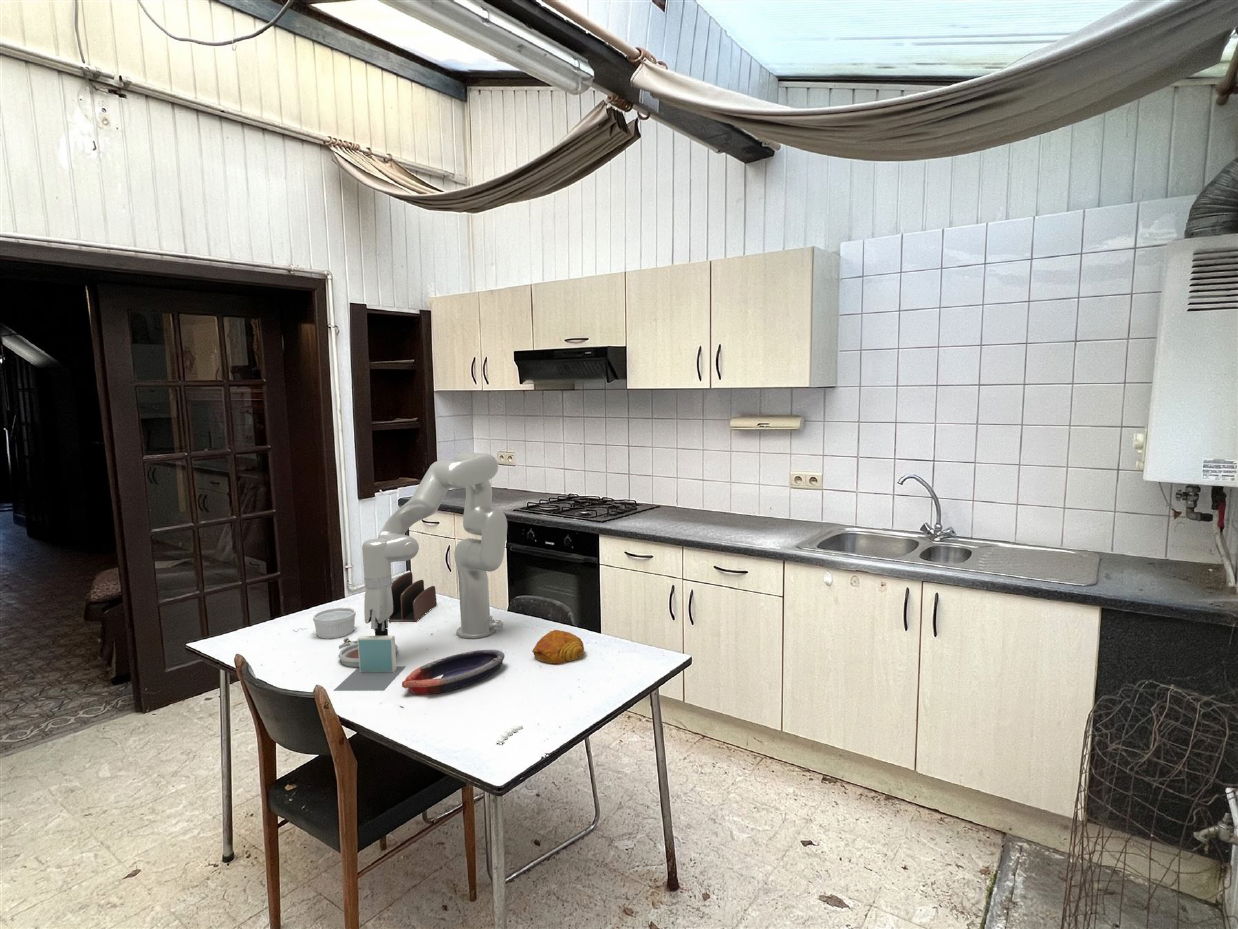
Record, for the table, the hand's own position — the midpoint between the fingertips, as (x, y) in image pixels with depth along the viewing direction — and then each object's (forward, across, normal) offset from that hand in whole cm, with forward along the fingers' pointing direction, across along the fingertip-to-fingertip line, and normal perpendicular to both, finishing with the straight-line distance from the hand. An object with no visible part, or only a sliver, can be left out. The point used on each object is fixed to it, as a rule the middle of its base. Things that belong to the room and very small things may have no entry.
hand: (382, 642), depth 197 cm
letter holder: (+8, -48, -8) cm, 49 cm away
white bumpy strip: (+8, +40, +46) cm, 62 cm away
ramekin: (+8, -28, -28) cm, 40 cm away
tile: (+7, +4, 0) cm, 8 cm away
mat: (+7, +9, 0) cm, 12 cm away
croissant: (+8, -8, +50) cm, 52 cm away
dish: (+8, +9, +24) cm, 27 cm away
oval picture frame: (+7, -10, -11) cm, 16 cm away
